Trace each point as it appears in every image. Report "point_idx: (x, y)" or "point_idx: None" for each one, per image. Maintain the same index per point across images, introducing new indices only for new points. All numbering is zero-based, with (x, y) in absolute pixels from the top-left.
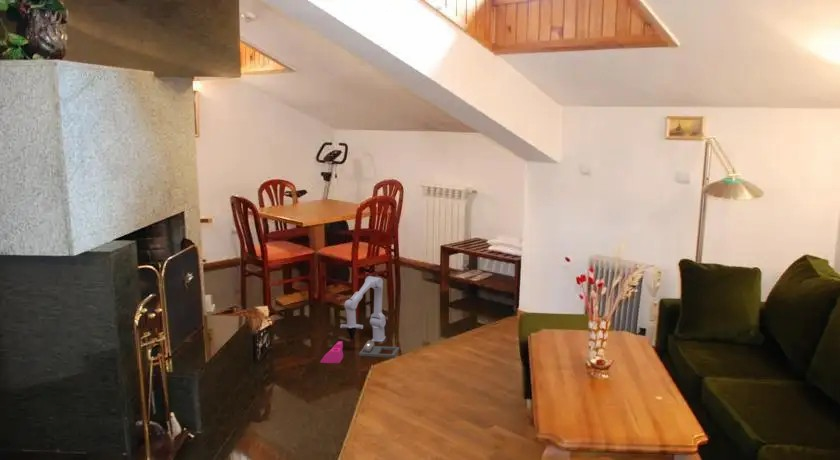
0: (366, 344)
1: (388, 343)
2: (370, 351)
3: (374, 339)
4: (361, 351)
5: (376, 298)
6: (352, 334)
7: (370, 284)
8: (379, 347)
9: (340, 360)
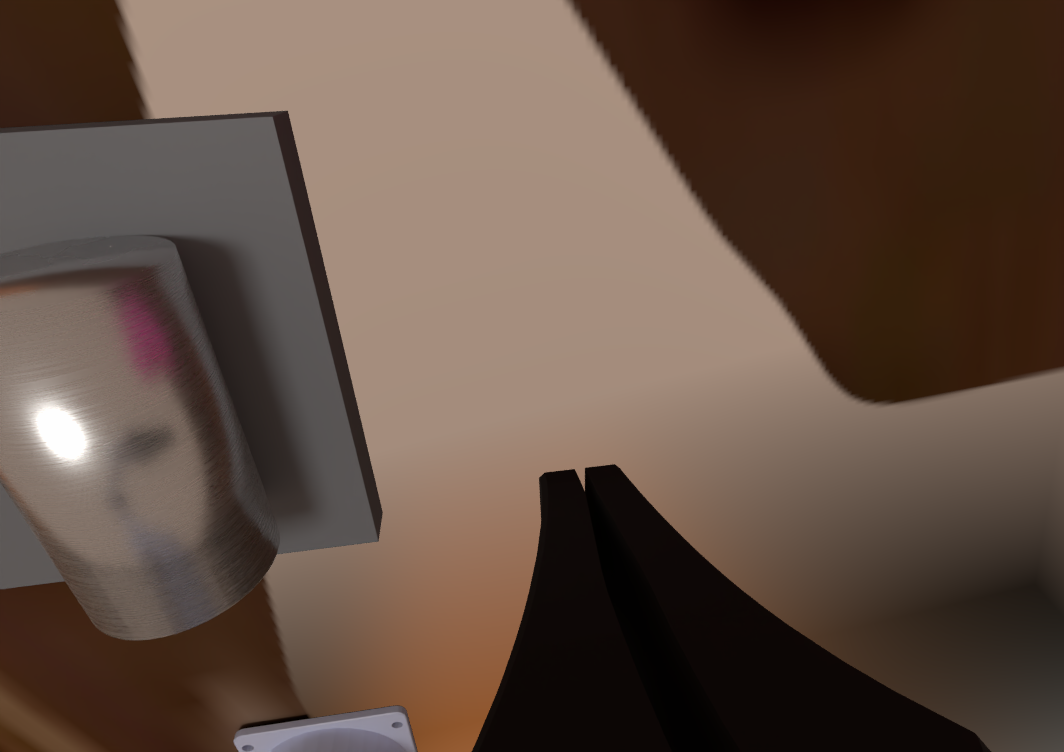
0: (14, 357)
1: (117, 711)
2: None
3: (362, 740)
4: (280, 268)
5: None
6: (572, 601)
7: None
8: None
9: None
